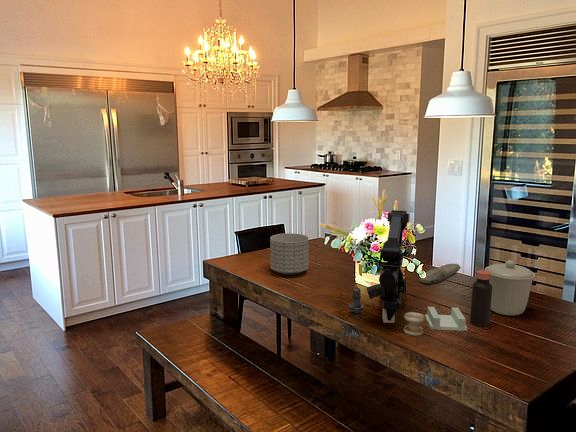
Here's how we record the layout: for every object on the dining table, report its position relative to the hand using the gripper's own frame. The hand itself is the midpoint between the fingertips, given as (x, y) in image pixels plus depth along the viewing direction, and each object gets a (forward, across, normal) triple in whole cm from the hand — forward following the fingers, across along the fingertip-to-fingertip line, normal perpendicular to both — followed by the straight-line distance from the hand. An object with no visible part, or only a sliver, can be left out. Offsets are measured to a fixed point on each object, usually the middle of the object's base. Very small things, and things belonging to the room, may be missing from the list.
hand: (388, 318), depth 181 cm
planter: (+1, -55, -43) cm, 70 cm away
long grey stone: (+2, -57, +32) cm, 65 cm away
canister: (+1, -14, +48) cm, 50 cm away
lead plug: (+1, 0, 0) cm, 1 cm away
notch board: (+1, +1, +21) cm, 21 cm away
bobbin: (+1, +9, +8) cm, 12 cm away
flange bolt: (+1, -5, -12) cm, 13 cm away
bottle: (+1, -1, +34) cm, 34 cm away
